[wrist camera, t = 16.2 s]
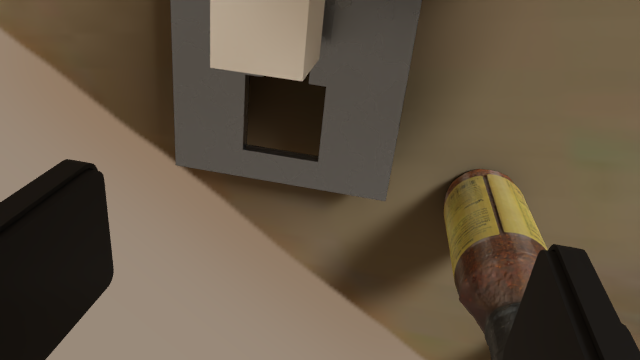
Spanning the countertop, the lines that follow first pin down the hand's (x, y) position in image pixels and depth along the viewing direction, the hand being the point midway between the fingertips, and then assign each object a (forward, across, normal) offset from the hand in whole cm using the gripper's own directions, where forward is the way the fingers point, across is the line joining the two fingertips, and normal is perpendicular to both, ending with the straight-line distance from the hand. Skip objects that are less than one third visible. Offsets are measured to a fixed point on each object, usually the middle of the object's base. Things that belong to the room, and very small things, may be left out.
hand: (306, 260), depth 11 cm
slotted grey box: (+30, +6, +3) cm, 31 cm away
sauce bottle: (+31, -10, +13) cm, 35 cm away
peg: (+30, +6, -1) cm, 31 cm away
